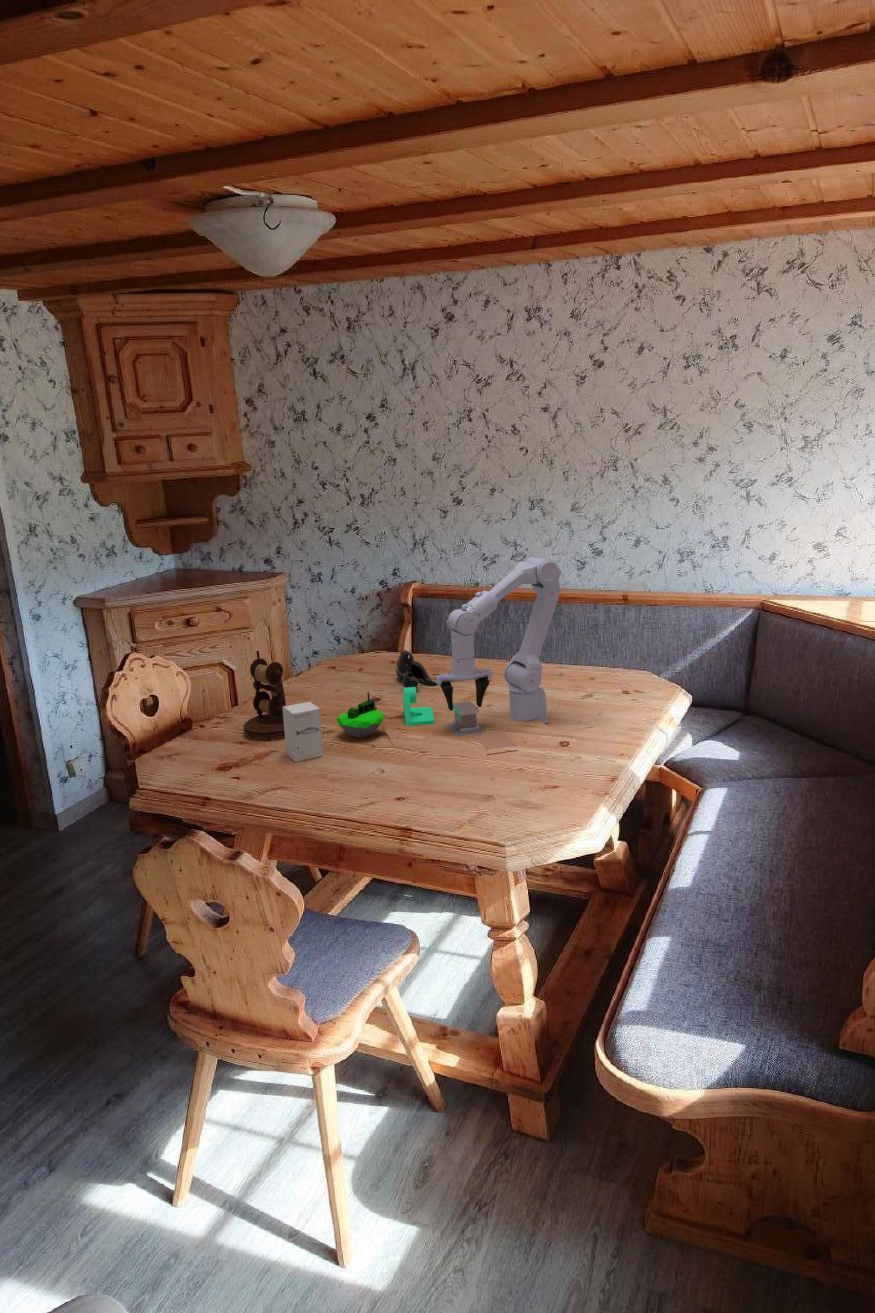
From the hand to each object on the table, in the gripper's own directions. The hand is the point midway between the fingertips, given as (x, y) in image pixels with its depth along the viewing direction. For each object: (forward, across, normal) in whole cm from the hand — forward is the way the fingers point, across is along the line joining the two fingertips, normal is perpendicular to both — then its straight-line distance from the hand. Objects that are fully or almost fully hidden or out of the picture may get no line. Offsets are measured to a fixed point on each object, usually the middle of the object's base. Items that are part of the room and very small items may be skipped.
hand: (464, 707), depth 238 cm
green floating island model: (+7, +26, -9) cm, 28 cm away
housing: (+6, 0, 0) cm, 6 cm away
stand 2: (+7, -4, +12) cm, 14 cm away
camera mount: (+8, +9, -13) cm, 18 cm away
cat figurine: (+8, -1, -49) cm, 49 cm away
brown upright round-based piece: (+8, +48, -21) cm, 53 cm away
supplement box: (+8, +42, 0) cm, 43 cm away
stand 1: (+7, 0, 0) cm, 7 cm away
